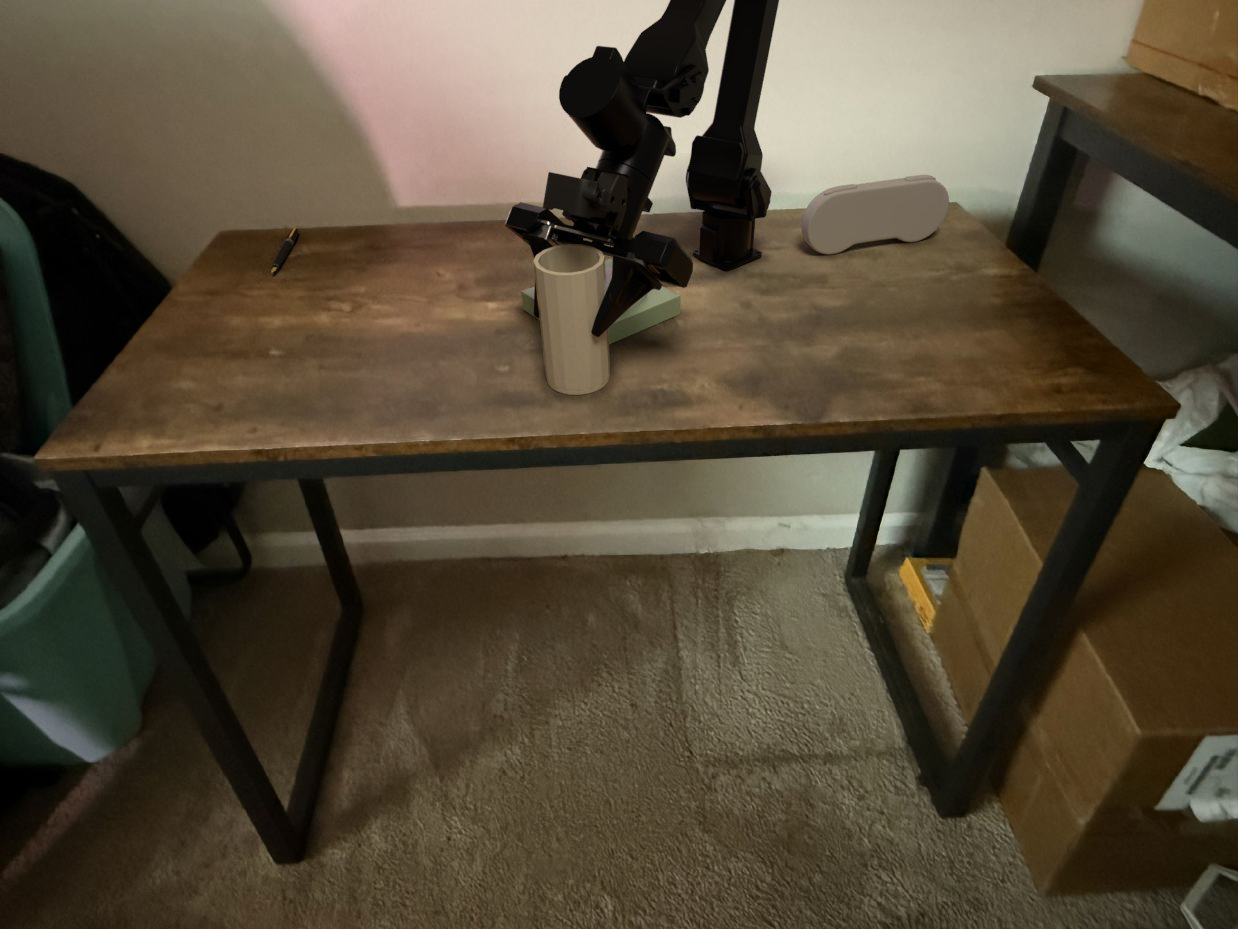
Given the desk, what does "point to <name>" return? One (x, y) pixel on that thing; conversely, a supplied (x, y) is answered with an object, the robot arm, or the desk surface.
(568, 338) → the cup
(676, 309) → the scale
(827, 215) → the game controller
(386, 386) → the desk surface
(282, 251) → the fountain pen
